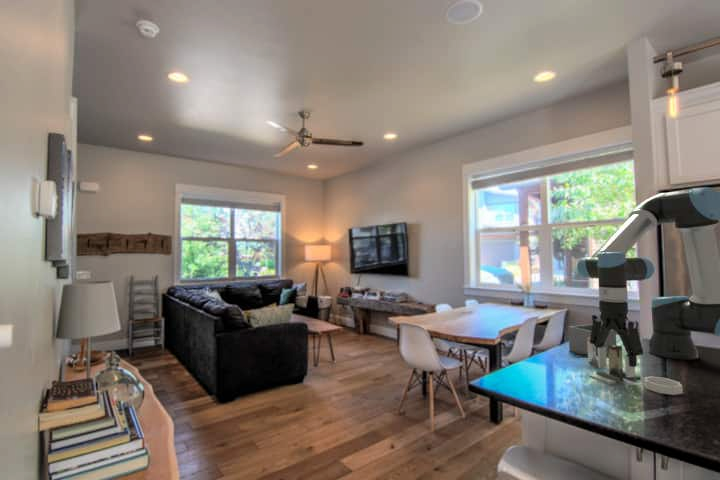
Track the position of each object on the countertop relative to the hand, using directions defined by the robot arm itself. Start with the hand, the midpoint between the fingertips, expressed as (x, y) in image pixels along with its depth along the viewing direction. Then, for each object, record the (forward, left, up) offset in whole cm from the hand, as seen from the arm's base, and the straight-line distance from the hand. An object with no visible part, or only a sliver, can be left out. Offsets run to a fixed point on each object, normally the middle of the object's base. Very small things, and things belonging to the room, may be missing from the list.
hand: (615, 371), depth 115 cm
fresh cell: (-8, -15, -3) cm, 17 cm away
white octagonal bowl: (-4, +11, -3) cm, 12 cm away
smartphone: (-23, -29, -4) cm, 37 cm away
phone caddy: (-23, -29, -3) cm, 37 cm away
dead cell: (0, 0, -2) cm, 2 cm away
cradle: (0, 0, -3) cm, 3 cm away
